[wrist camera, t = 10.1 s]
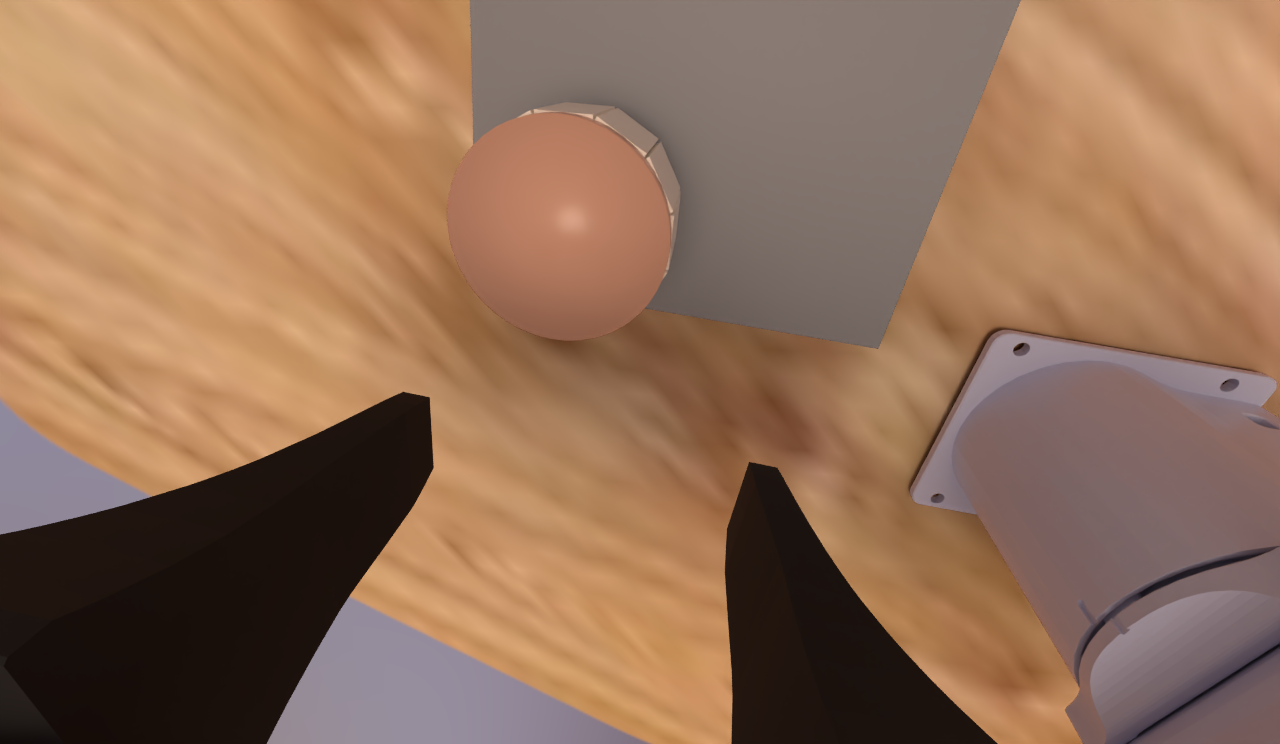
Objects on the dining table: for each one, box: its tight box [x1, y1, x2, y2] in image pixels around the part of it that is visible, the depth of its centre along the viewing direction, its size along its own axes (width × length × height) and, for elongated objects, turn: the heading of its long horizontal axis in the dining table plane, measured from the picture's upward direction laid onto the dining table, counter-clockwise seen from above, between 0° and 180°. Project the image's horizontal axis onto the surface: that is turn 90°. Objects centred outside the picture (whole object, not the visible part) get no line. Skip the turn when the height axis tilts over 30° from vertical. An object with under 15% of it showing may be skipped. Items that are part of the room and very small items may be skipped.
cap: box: [447, 102, 681, 341], centre depth 14 cm, size 5×5×4 cm
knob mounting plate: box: [470, 0, 1021, 349], centre depth 13 cm, size 14×15×6 cm
